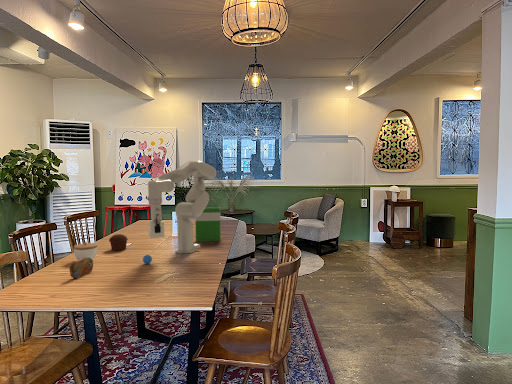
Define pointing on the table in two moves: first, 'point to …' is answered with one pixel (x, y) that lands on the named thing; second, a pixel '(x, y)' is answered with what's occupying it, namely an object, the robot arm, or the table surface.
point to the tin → (81, 267)
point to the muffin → (118, 242)
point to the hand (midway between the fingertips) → (156, 231)
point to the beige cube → (152, 230)
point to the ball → (147, 259)
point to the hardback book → (208, 225)
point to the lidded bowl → (85, 250)
